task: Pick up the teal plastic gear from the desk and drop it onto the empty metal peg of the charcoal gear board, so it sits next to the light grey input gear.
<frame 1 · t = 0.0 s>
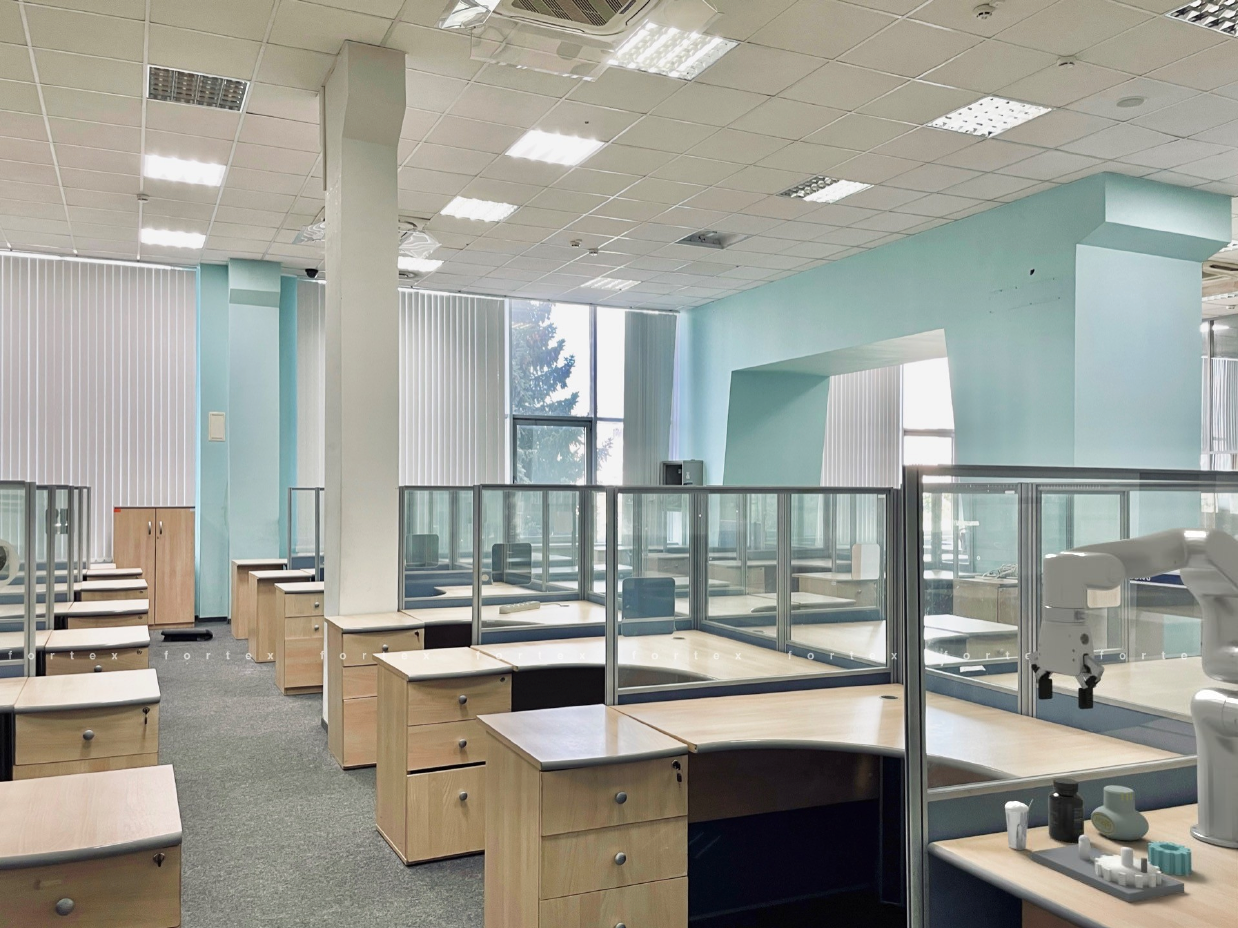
hand: (1065, 703, 185), 31 cm above the table, tool pointing down, fingers open, 9 cm apart
gear board: (1104, 874, 178), on the table
supplement bottle: (1066, 839, 199), on the table
air freshener: (1119, 837, 201), on the table
milkshake: (1019, 848, 193), on the table
gear: (1169, 868, 182), on the table
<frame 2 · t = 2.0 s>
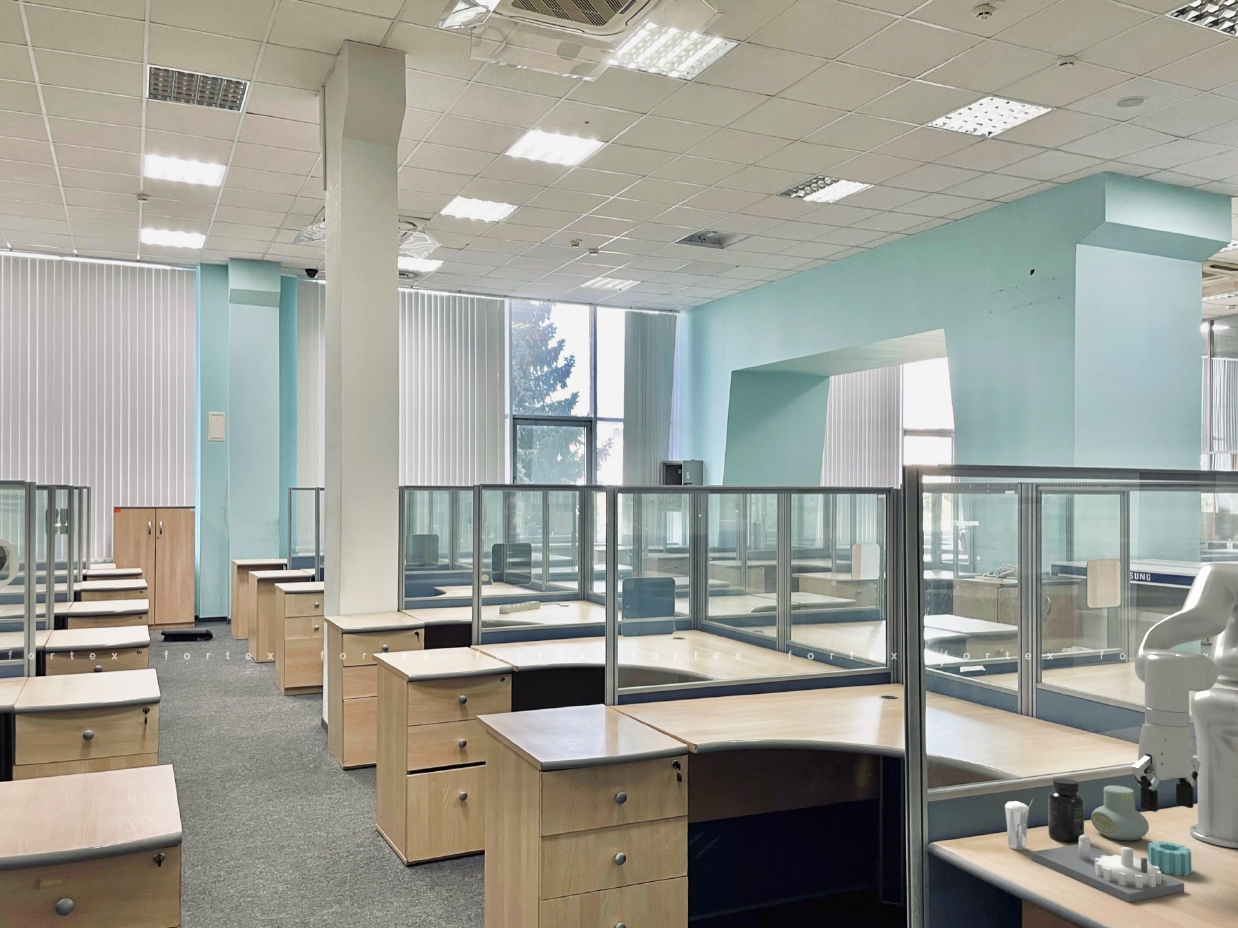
hand: (1167, 807, 182), 12 cm above the table, tool pointing down, fingers open, 9 cm apart
nothing on the table moved.
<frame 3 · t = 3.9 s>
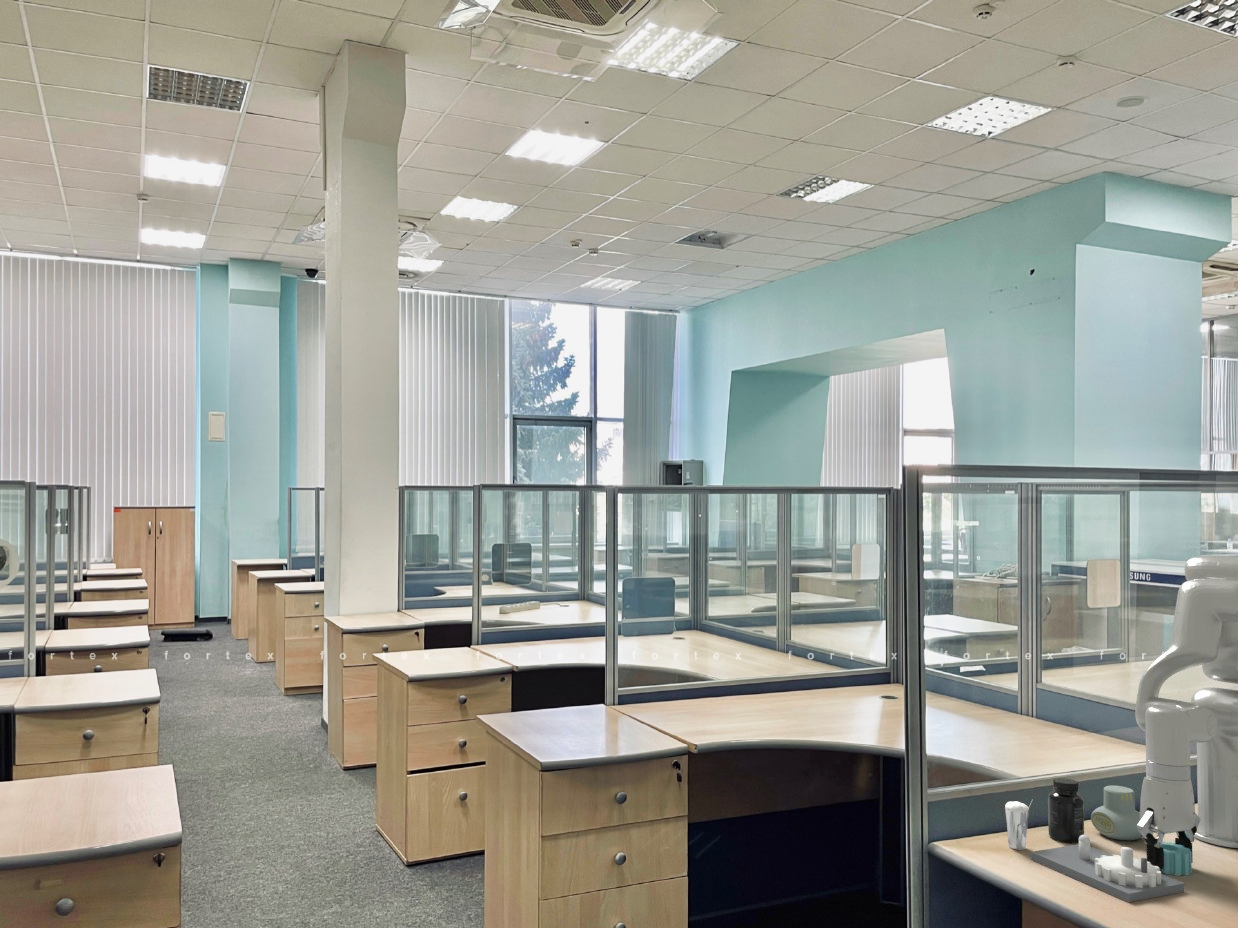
hand: (1169, 862, 182), 1 cm above the table, tool pointing down, fingers closed on gear, 7 cm apart
gear: (1169, 868, 182), on the table, touching gripper
everything else where it was.
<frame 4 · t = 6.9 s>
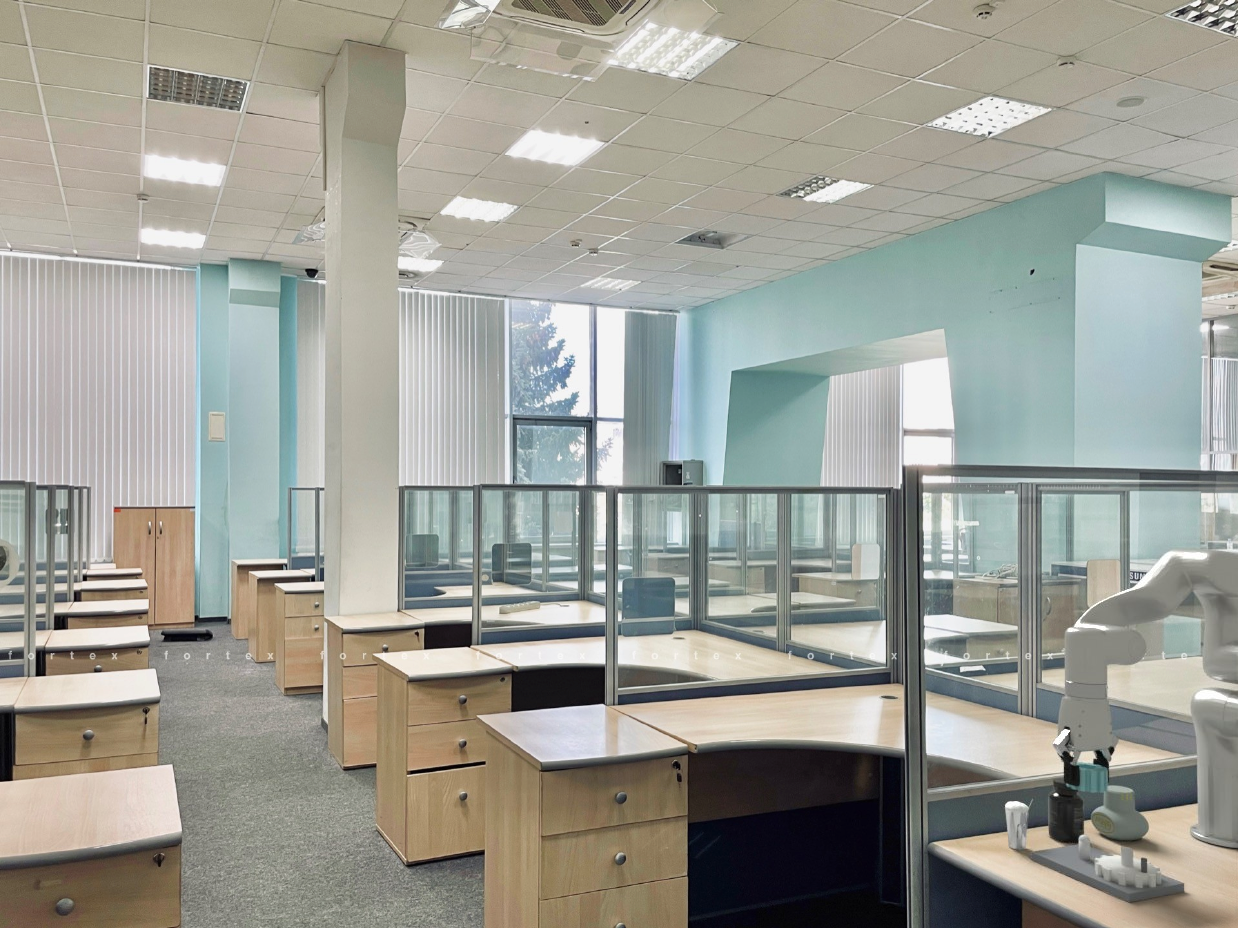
hand: (1086, 781, 183), 16 cm above the table, tool pointing down, fingers closed on gear, 7 cm apart
gear: (1086, 787, 183), point 15 cm above the table, touching gripper
everything else where it was.
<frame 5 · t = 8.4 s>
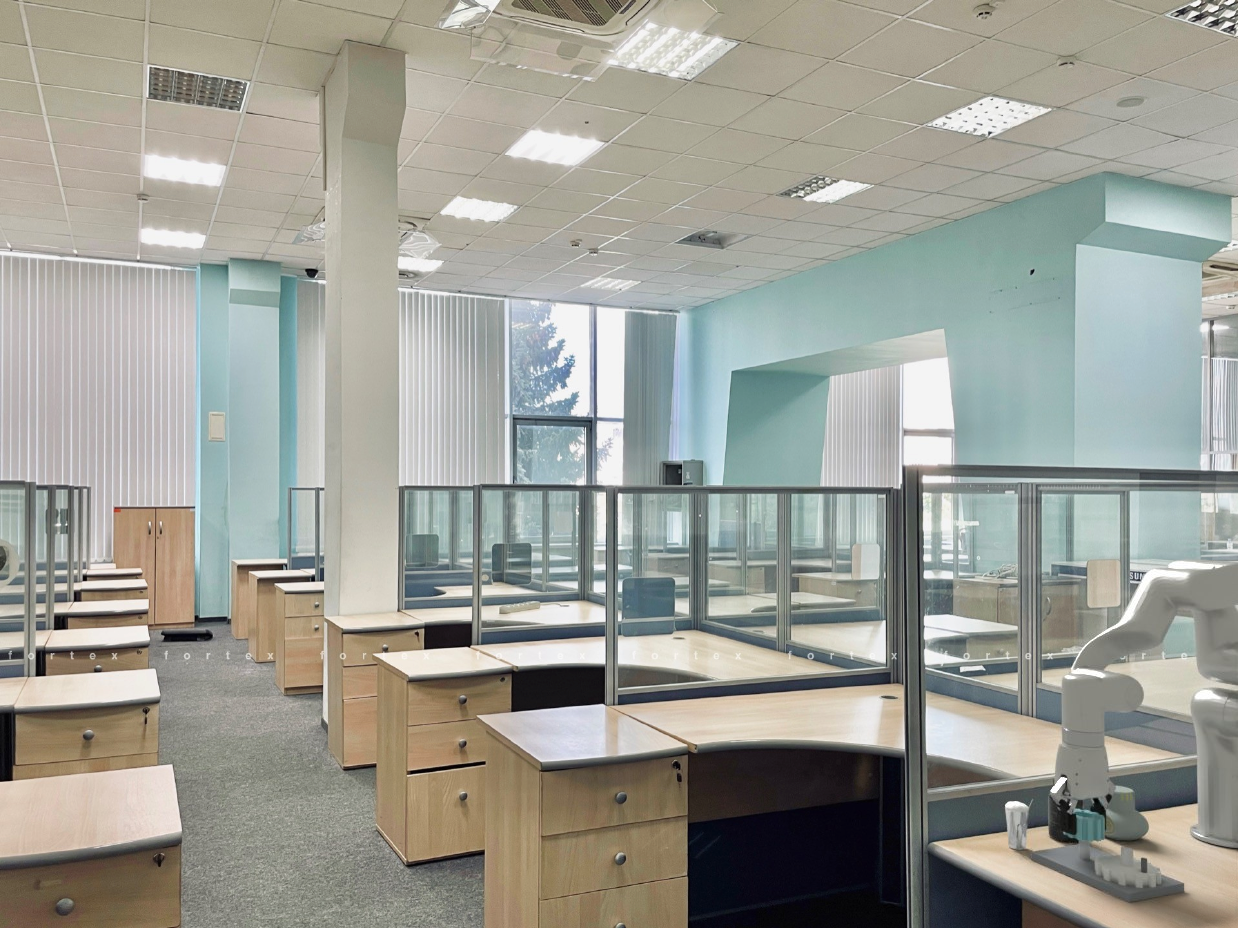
hand: (1083, 829, 183), 7 cm above the table, tool pointing down, fingers closed on gear, 7 cm apart
gear: (1083, 835, 183), point 6 cm above the table, touching gripper
everything else where it was.
when the fingers open (4 cm above the table, at t = 10.0 s): gear drops 1 cm, resting on gear board.
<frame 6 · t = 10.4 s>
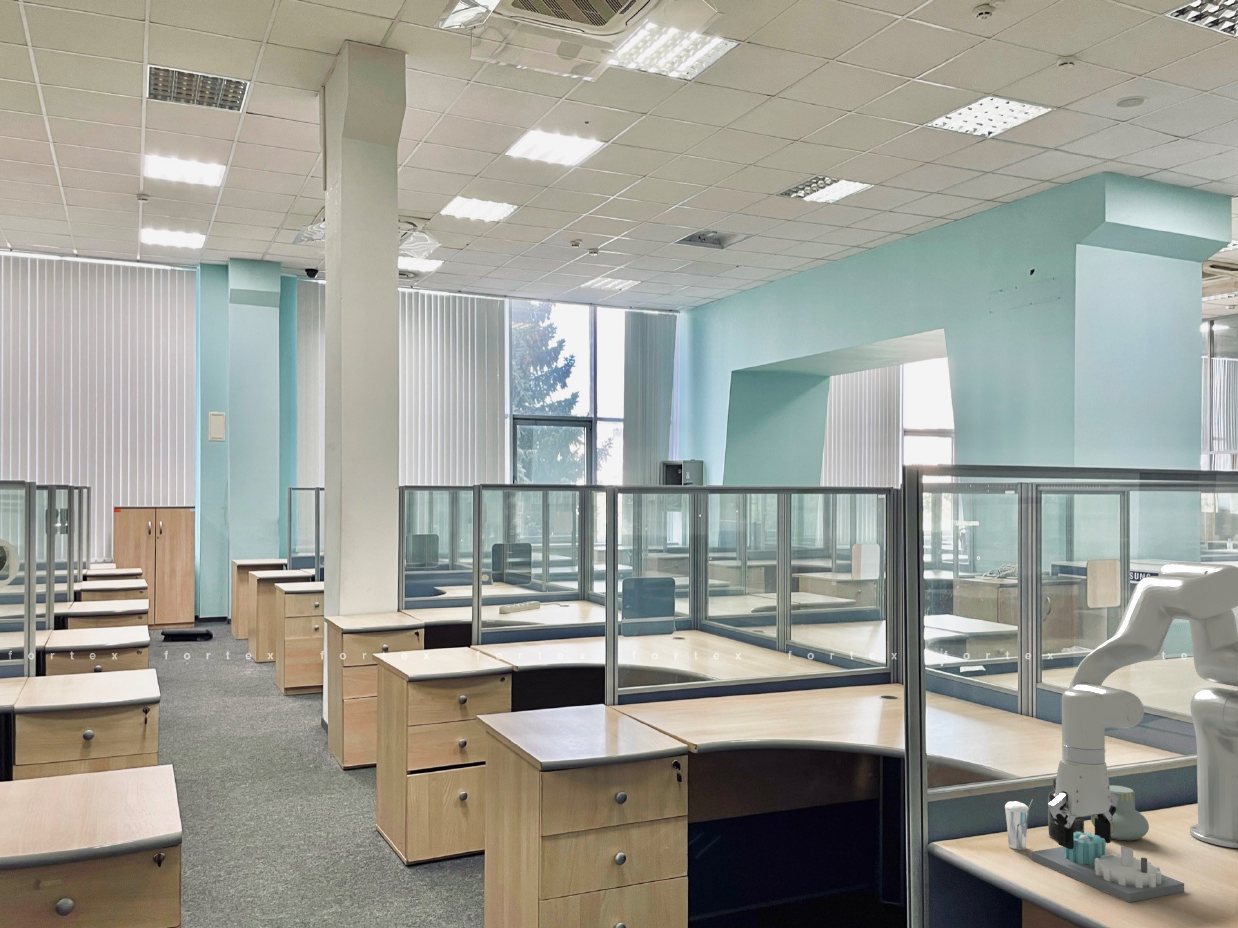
hand: (1084, 843, 183), 4 cm above the table, tool pointing down, fingers open, 9 cm apart
gear: (1084, 858, 183), point 1 cm above the table, touching gear board
everything else where it was.
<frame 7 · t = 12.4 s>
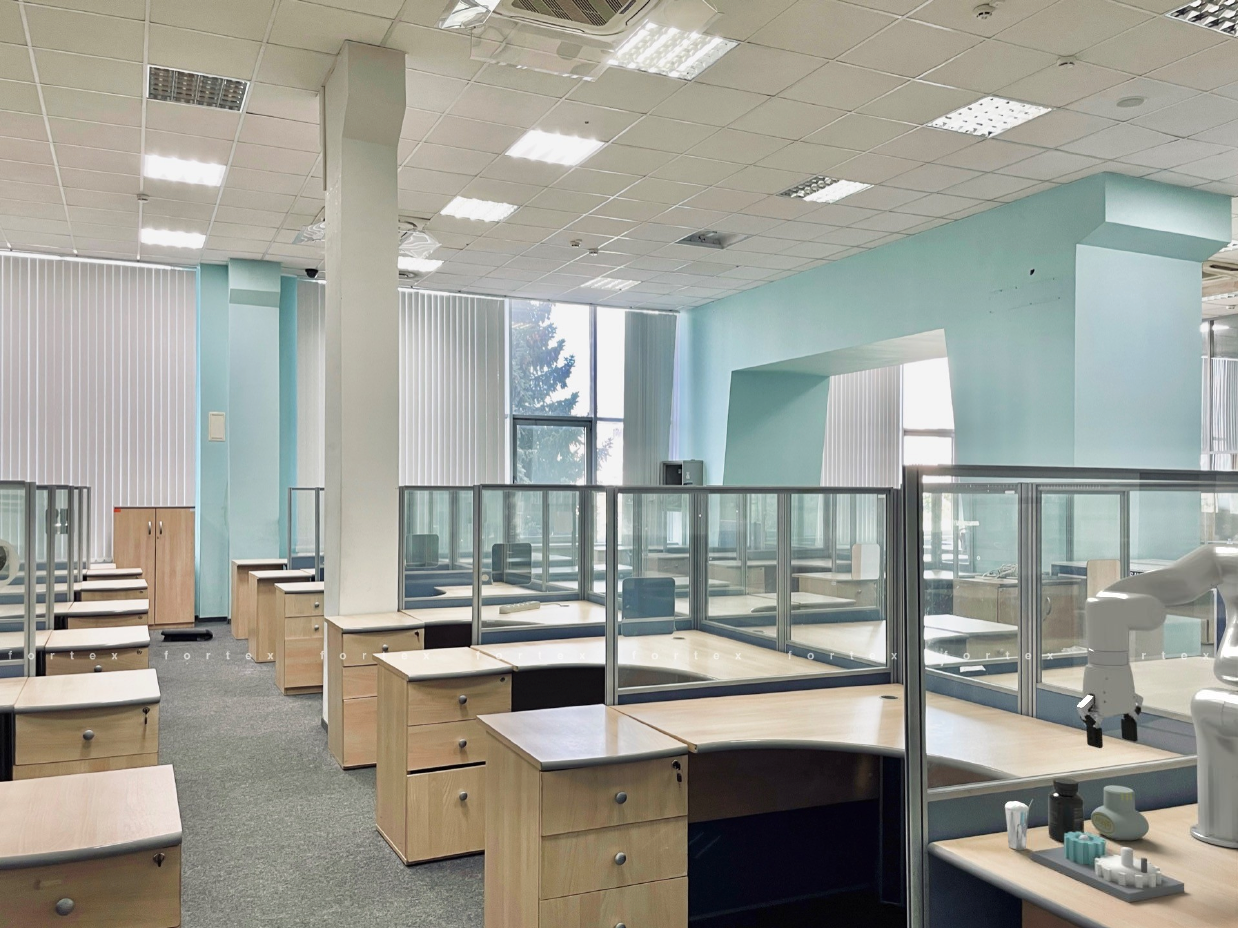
hand: (1112, 743, 189), 22 cm above the table, tool pointing down, fingers open, 9 cm apart
nothing on the table moved.
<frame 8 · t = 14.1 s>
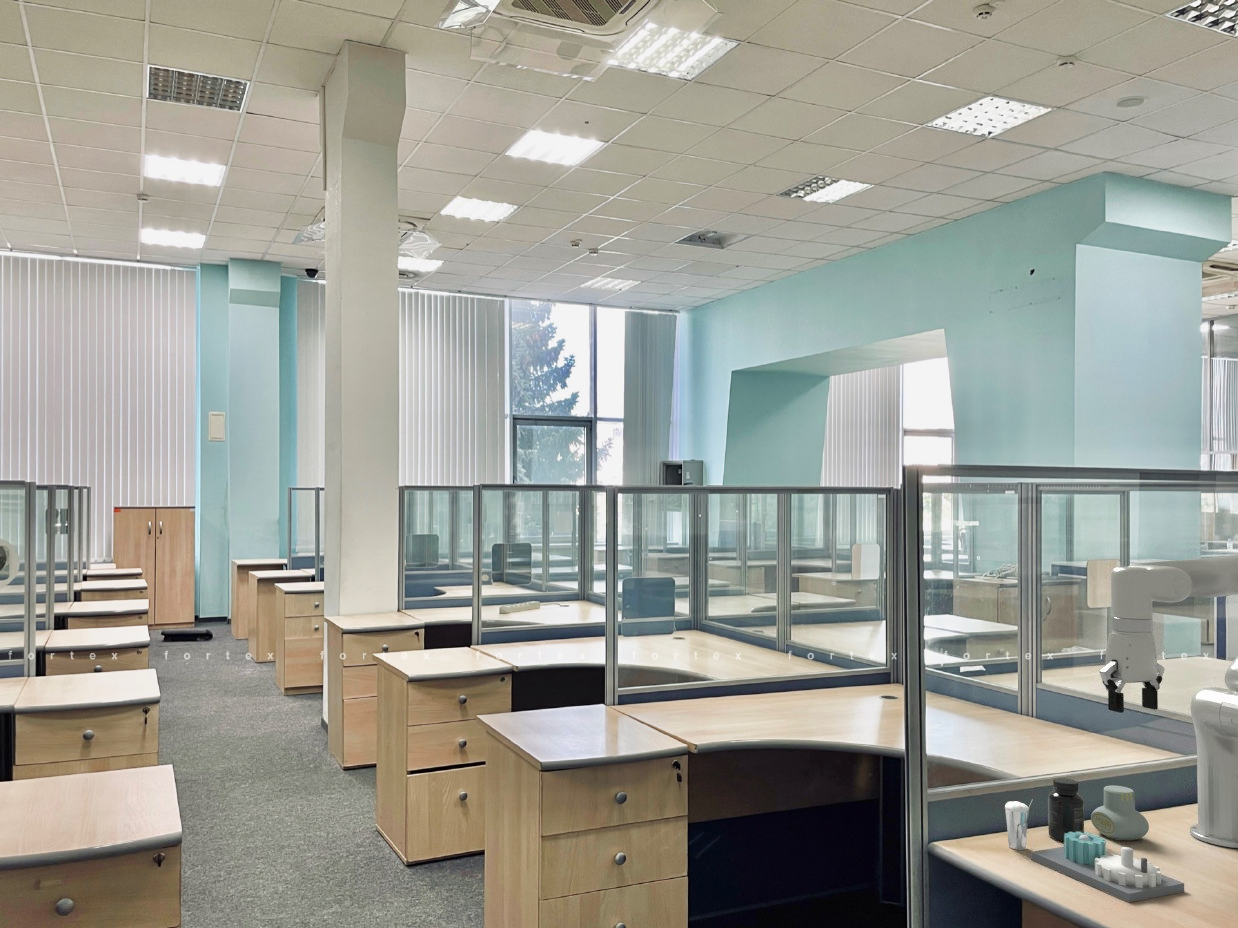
hand: (1133, 709, 194), 28 cm above the table, tool pointing down, fingers open, 9 cm apart
nothing on the table moved.
at the end: gear 0.0 cm from the target spot on the gear board, point 1.5 cm above the gear board's base; gear tilted 0°; the gripper is holding nothing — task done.
